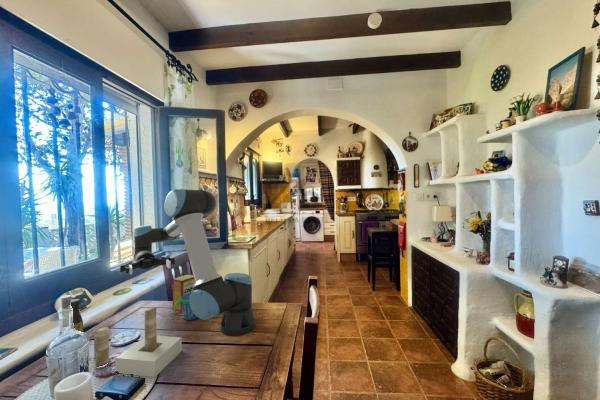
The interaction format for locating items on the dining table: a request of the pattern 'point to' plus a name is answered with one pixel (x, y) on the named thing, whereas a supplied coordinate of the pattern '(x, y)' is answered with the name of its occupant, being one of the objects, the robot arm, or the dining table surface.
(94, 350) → the short dowel
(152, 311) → the tall dowel
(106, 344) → the medium dowel
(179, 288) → the baking soda box
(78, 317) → the sauce bottle
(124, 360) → the hole block
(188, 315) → the snack cup
